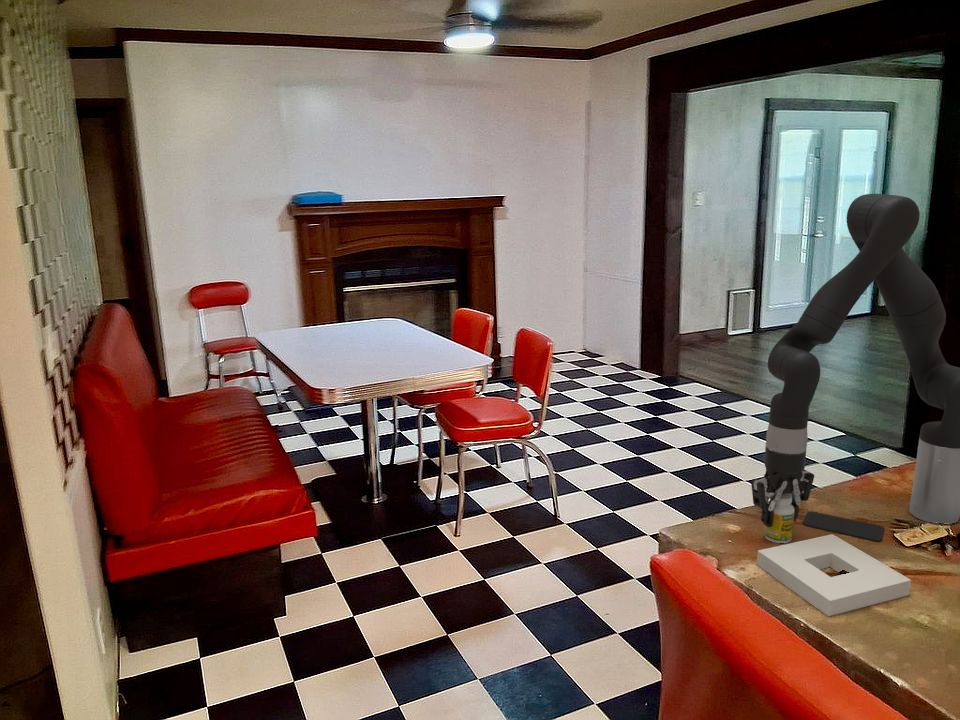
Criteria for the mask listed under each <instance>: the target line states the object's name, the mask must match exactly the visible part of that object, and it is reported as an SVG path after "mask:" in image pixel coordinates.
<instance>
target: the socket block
mask: <svg viewBox="0 0 960 720" xmlns="http://www.w3.org/2000/svg"><path fill="white" fill-rule="evenodd" d="M756 566H758V567H759V568H760V569H762V570H763V571H765V572H766V573H768V574H769V575H771V577H773V578H774V579H776V580H778V581H779V582H780V583H782V584H783V585H785V587H787V588H788V589H790V590H791V591H792V592H794V593H795V594H797V595H798V596H799V597H801V598H802V599H803V600H805V601H806V602H808V603H809V604H810V605H812V606H813V607H814V608H816V609H817V610H819V611H820V612H821V613H823V614H824V615H825V616H827V617H832V616H836V615H839V614H843V613H847V612H850V611H855V610H858V609H862V608H867V607H869V606H873V605H874V606H875V605H877V604H881V603H884V602H889V601H893V600H895V599H896V600H897V599H901V598H904V597H907V596H910V590H911V584H912V579H910V578H909V577H907V576H905V575H903V574H901V573H900V572H898V571H897V570H895V569H893V568H891V567H890V566H887V564H884V563H883V562H881V561H879V560H878V559H876V558H874V557H873V556H871V555H869V554H868V553H866V552H864V551H862V550H860V549H858V548H857V547H856V546H853V545H852V544H850V543H849V542H847V541H845V540H843V539H841V538H840V537H838V536H836V535H834V533H832V534H826V535H823V536H822V535H821V536H818V537H813V538H809V539H803V540H800V541H796V542H791V543H790V542H789V543H784V544H781V545H776V546H772V547H769V548H762V549H759V550H757V556H756ZM828 568H830V569H832V570H834V571H836V572H838V573H839V572H840V571H842V570H845V571H847V572H849V573H846V574H839V575H835V576H830V575H829V574H827V573H825V572H824V571H822V570H823V569H828Z"/></svg>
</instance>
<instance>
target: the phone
mask: <svg viewBox="0 0 960 720" xmlns="http://www.w3.org/2000/svg"><path fill="white" fill-rule="evenodd" d="M802 525H803V526H805V527H807V528H813V529H815V530H820V531H825V532H830V533H832V534H839V535H842V536H847V537H850V538H855V539H861V540H863V541H870V542H875V543H881V542H882V541H883V537H884V534H885V527H884V526H882V525H879V524H874V523H870V522H865V521H860V520H856V519H851V518H845V517H842V516H835V515H831V514H827V513H821V512H816V511H808V512H806V514H805V516H804V519H803V521H802Z"/></svg>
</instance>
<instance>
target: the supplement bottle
mask: <svg viewBox="0 0 960 720" xmlns="http://www.w3.org/2000/svg"><path fill="white" fill-rule="evenodd" d="M771 494H773V495H774V494H775V493H773V492H772V491H771ZM791 503H792V496H791V495H790V494H788V493H785V494H783V495H781V497H780V499H779V501H777V502H776V504H775V506H774V508H773V511H774V514H773V525H772V527H767V526H765V525H764V532H763V533H764V537H765V539H766V540H768V541H769V542H771V541H772V543H774V542H775V544H780V543H784V544H789V543H790V542H791V541H792V539H793V532H794V531H793V530H794V523H795V522H794V511H795V510H794V507H793V505H792V504H791Z"/></svg>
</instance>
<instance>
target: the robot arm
mask: <svg viewBox="0 0 960 720" xmlns="http://www.w3.org/2000/svg"><path fill="white" fill-rule="evenodd" d="M920 216H921V215H920V209H919V206H918V204H917V203H916V202H915V201H914V200H913V199H911V198H909V197H907V196H902V195H895V194H885V193H883V194H881V193H866V194H861V195H859V196H857V197H856V198H854V200H852V201H851V203H850V204H849V207H848V209H847V212H846V226H847V230H848V233H849V235H850V237H851V238H852V240H853V242H854V244H855V246H856V247H857V248H858V253H857V254H856V255H855V256H854V258H853V259H851V261H850V262H849V263H848V264H847V265H846V266H844V267H843V268H842V269H841V270H840V271H839V272H837V273H836V274H835V275H834V276H832V277H831V278H830V279H828V280H827V281H826V282H825V283H824V284H823V285H822V286H821V287H820V288H819V289H818V290H817V291H816V293H815V294H814V295H813V296H812V298H811V300H810V301H809V303H808V304H807V306H806V308H805V309H804V311H803V313H802V314H801V316H800V318H799V320H798V321H797V322H796V323H795V324H794V325H793V326H792V327H790V329H789V330H788V331H787V332H786V333H785V334H784V335H782V337H781V338H780V339H779V340H778V341H777V343H776V344H775V345H774V347H772V349H771V351H770V353H769V355H768V358H767V369H768V371H769V373H770V374H771V376H773V377H774V378H777V379H778V380H780V381H782V382H783V388H782V391H781V392H779V393H776V394H774V395H773V396H772V398H771V400H770V407H769V419H768V426H767V431H766V435H765V436H766V437H765V447H764V449H765V451H764V460H763V463H764V466H765V473H764V475H763V477H762V478H759V479H756V478H752V479H751V482H750V484H751V492H752V493H751V494H752V495H751V496H752V501H753V502H752V503H753V505H754V506H755V507H758V508H759V509H761V516H760V521H761V523H762V524H763V525H764V527H765V526H767V527H772V525H773V514H774V511H773V508H774V506H775V504H776V502H777V501H779V499H780V497H781V495H783V494H785V493H788V494H790V495H791V496H792V503H791V504H792V505H793V507H794V510H795V511H794V522H793V523H795V522H797V520H798V517H799V509H800V506H801V504H802V502H807V501H808V500H809V499H810V498H809V497H810V494H811V490H812V487H813V482H814V480H815V474H814V473H812V472H810V471H808V470H806V469H805V467H806V459H807V458H806V457H807V447H808V440H809V439H808V437H809V436H808V434H809V433H808V421H809V410H810V409H809V408H810V405H811V403H812V402H813V398H814V396H815V393H816V390H817V387H818V386H819V382H820V378H821V366H820V361H819V359H818V358H817V357H816V356H815V354H813V353H811V351H812V350H813V349H814V348H815V347H816V346H818V345H827V344H828V343H830V342H832V340H833V339H834V337H835V336H836V334H837V333H838V332H839V330H840V329H841V327H842V325H843V323H844V322H845V320H846V318H847V317H848V316H849V314H850V312H851V311H852V309H853V308H854V306H855V305H856V303H857V302H858V301H859V299H860V298H861V297H862V295H863V294H864V293H865V291H866V290H867V289H868V288H869V287H870V286H871V284H873V282H875V284H876V286H877V288H878V291H879V293H880V295H881V297H882V300H883V302H884V303H883V304H884V305H885V308H886V311H887V313H888V314H889V315H888V316H889V319H890V320H891V322H892V324H893V327H894V328H895V330H896V332H897V333H896V334H897V335H898V338H899V339H900V343H901V345H902V349H903V350H904V353H905V355H906V358H907V361H908V364H909V368H910V373H911V376H912V379H913V382H914V387H915V390H916V392H917V395H918V396H919V398H920V399H921V400H922V401H923V402H924V403H926V404H927V405H929V406H931V407H935V408H937V409H941V410H943V415H942V419H941V420H940V421H939V420H938V421H936V420H935V421H929V422H924V424H922V425H921V427H920V429H919V430H920V432H919V437H918V438H919V439H918V445H917V452H916V453H917V454H916V459H915V460H916V461H915V467H914V475H913V483H912V490H911V496H910V504H909V510H908V511H909V513H910V514H911V515H912V516H914V517H915V518H916V519H919V520H921V521H923V522H927V523H930V522H937V523H949V524H948V525H953V524H952V523H955V524H957V523H959V521H960V518H959V517H960V367H958V366H954V365H951V364H949V363H948V362H947V360H946V359H945V357H944V355H943V353H942V350H941V349H940V345H939V341H940V337H941V336H942V333H943V330H944V329H945V325H946V321H947V320H946V319H947V313H946V309H945V306H944V304H943V301H942V298H941V296H940V293H939V291H938V289H937V287H936V285H935V284H934V282H933V281H932V279H931V278H930V277H929V276H928V275H927V274H926V273H925V271H923V270H922V268H920V267H919V265H917V263H916V262H914V260H912V258H911V257H910V256H908V254H907V253H906V251H905V250H904V249H903V248H904V247H905V245H906V244H907V243H908V241H909V240H910V239H911V238H912V236H913V235H914V233H915V231H916V230H917V228H918V225H919V222H920ZM772 492H773V493H775V494H774V495H773V494H771V493H772ZM958 520H959V521H958ZM956 522H957V523H956Z"/></svg>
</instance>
